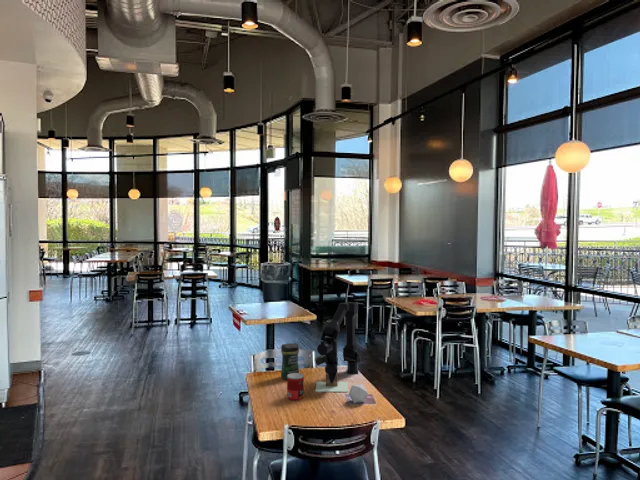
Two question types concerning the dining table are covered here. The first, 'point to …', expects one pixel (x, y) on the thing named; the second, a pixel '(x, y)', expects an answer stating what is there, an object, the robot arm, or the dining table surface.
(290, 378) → the canned food
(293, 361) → the coffee jar
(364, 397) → the die
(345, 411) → the dining table surface
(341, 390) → the mat
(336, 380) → the walnut slab
